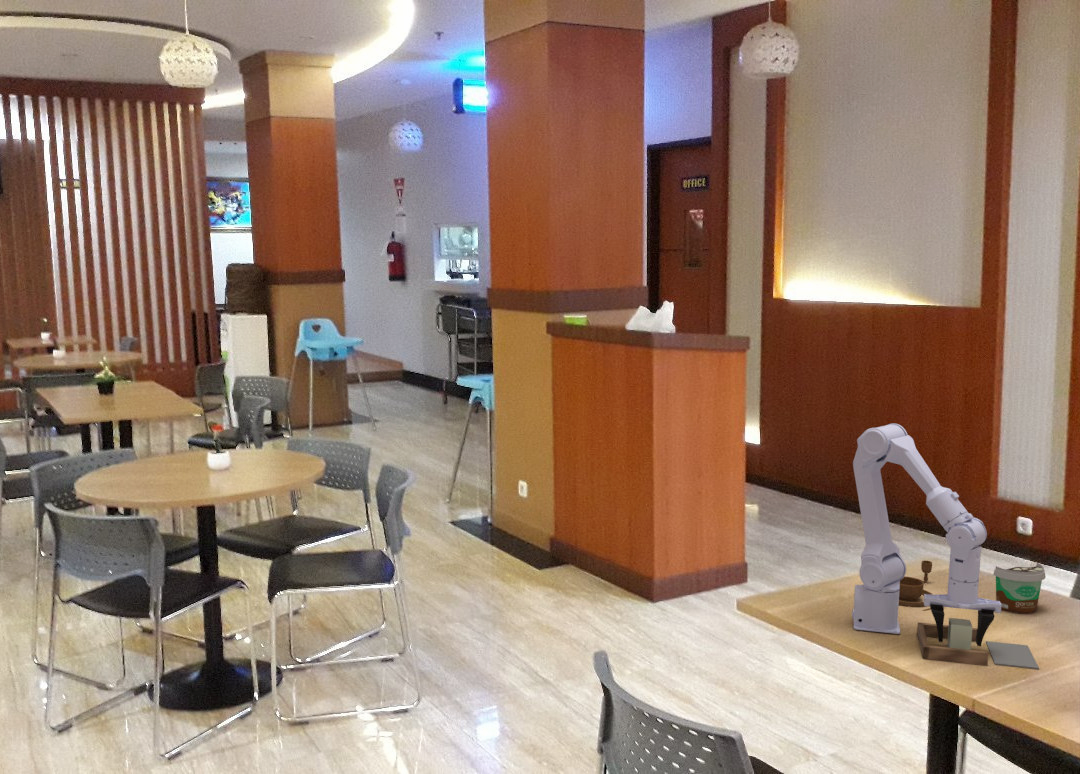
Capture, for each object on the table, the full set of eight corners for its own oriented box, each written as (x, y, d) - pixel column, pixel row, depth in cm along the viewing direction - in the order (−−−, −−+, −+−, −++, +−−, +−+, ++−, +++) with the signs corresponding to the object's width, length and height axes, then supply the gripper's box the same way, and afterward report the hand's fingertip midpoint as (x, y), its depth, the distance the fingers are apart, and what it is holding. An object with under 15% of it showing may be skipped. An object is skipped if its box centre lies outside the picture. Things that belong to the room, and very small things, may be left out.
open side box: (923, 658, 206) (923, 646, 205) (917, 633, 219) (917, 622, 219) (987, 665, 202) (988, 653, 202) (977, 639, 216) (978, 628, 216)
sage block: (949, 652, 209) (951, 624, 208) (947, 645, 213) (949, 617, 212) (970, 654, 208) (972, 626, 207) (967, 647, 212) (969, 619, 211)
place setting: (860, 591, 247) (861, 568, 246) (923, 582, 255) (925, 559, 254) (913, 616, 231) (915, 591, 230) (979, 604, 239) (981, 580, 238)
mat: (994, 664, 203) (995, 663, 203) (985, 642, 215) (986, 641, 214) (1039, 669, 201) (1039, 667, 201) (1027, 646, 212) (1027, 645, 212)
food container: (1009, 618, 229) (1012, 574, 228) (990, 608, 235) (993, 566, 234) (1055, 613, 232) (1059, 570, 231) (1035, 604, 238) (1039, 562, 237)
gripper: (927, 581, 206) (923, 645, 208) (1005, 588, 203) (1000, 653, 204) (924, 570, 213) (920, 633, 215) (999, 577, 209) (995, 640, 211)
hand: (959, 642), depth 210 cm, fingers open, 7 cm apart
